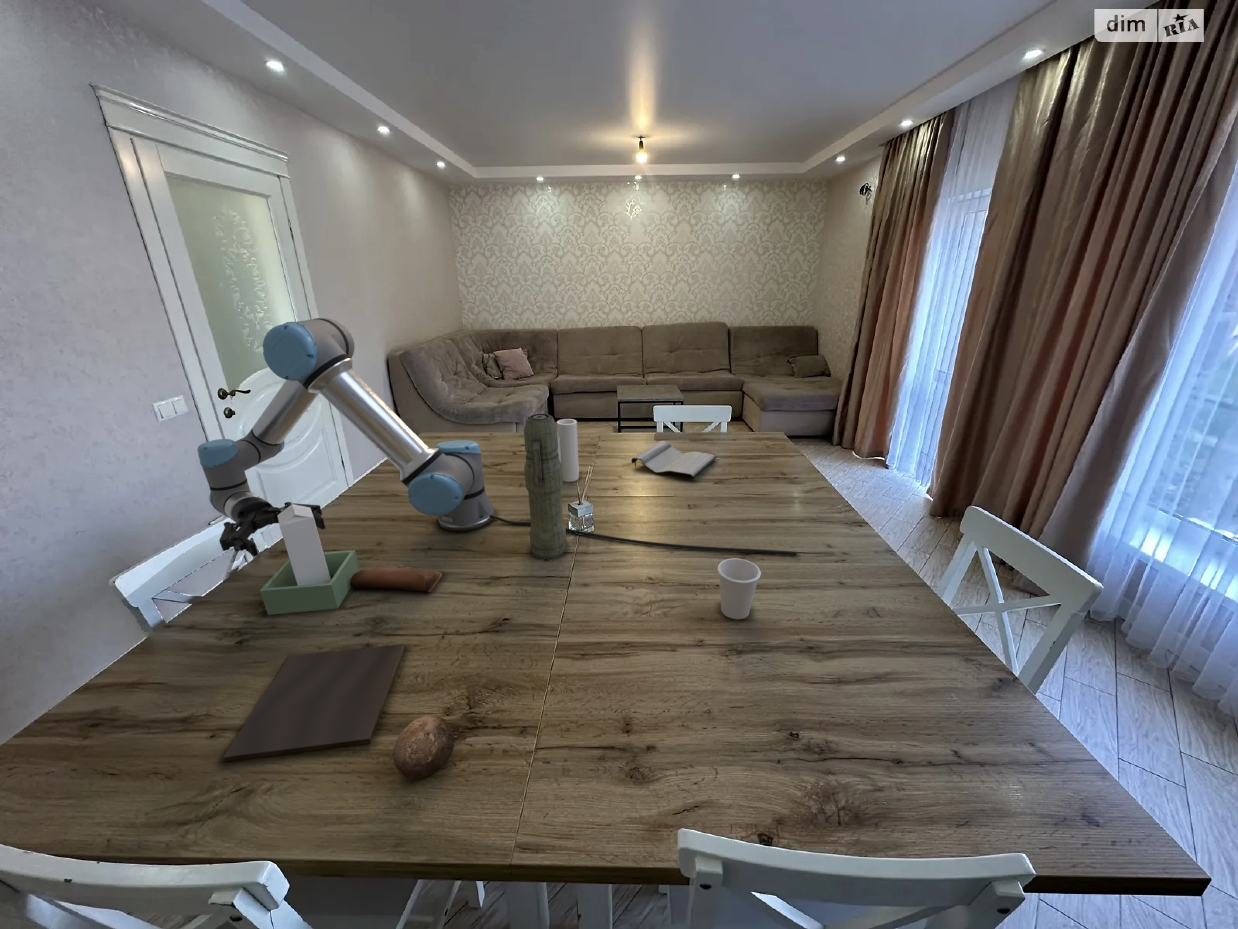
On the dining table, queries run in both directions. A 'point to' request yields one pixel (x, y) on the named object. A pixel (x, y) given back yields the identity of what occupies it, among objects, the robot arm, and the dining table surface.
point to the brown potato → (423, 746)
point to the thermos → (544, 486)
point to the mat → (673, 459)
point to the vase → (568, 449)
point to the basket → (310, 586)
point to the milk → (303, 545)
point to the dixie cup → (737, 586)
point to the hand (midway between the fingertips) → (290, 536)
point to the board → (320, 703)
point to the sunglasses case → (396, 578)
